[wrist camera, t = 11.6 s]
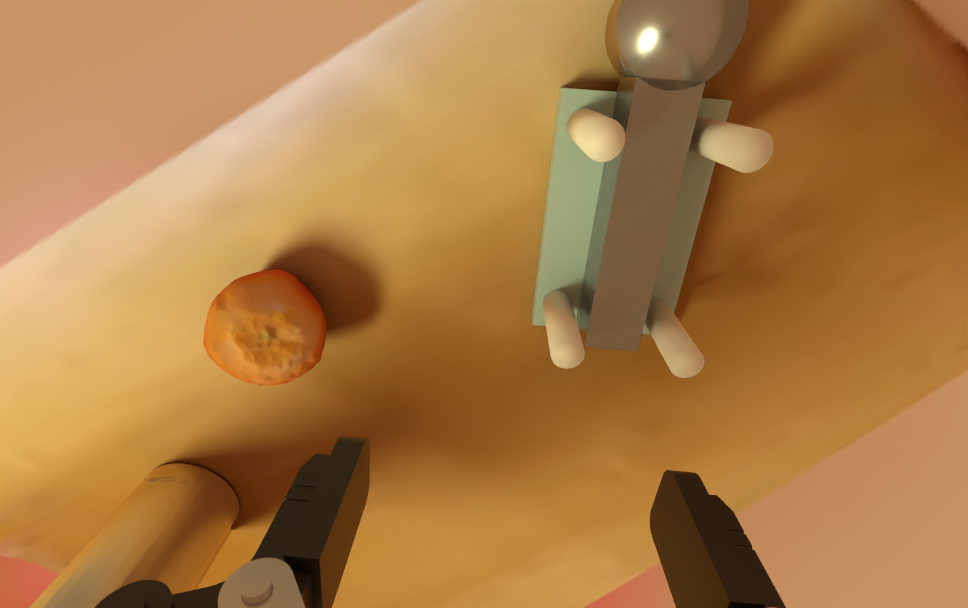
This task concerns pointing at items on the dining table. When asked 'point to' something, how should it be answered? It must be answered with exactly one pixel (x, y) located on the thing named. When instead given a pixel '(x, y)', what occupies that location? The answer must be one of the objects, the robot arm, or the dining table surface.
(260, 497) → the dining table surface
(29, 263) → the dining table surface
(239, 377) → the fruit
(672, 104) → the ball-topped lever
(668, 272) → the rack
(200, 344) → the dining table surface
